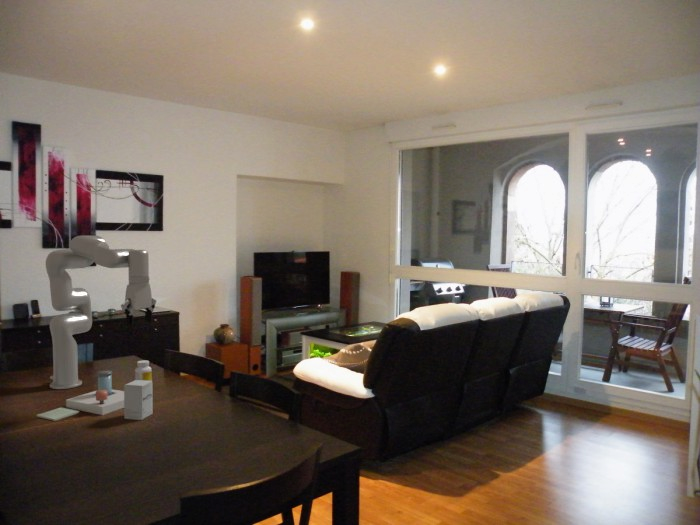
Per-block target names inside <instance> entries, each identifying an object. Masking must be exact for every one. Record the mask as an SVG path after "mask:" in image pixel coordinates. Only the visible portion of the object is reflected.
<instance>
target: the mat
mask: <svg viewBox="0 0 700 525" xmlns="http://www.w3.org/2000/svg"><path fill="white" fill-rule="evenodd" d="M77 414H80V410H76V409H72V408H67V407H63V406H61V407H58V408H55V409H52V410H48V411H45V412H42V413H38V414H36V417H37V418H41V419H45V420H50V421H52V422H54V421H58V420H61V419H64V418H67V417H70V416H74V415H77Z"/></svg>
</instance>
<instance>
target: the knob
mask: <svg viewBox="0 0 700 525" xmlns="http://www.w3.org/2000/svg"><path fill="white" fill-rule="evenodd" d="M97 390H98V389H97ZM97 390H95V391H96V400H97V401H100V404H104V400H106V399H107V390H98V391H97Z"/></svg>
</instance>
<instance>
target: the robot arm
mask: <svg viewBox="0 0 700 525" xmlns="http://www.w3.org/2000/svg"><path fill="white" fill-rule="evenodd" d="M69 247H70V248H68V249H66V248H65V249H56V250H52V251H51V252H49V253H48V255H47V256H46V259H45V269H46V270H45V271H46V273H47V276H48V279H49V288H50V290H49V291H50V299H51V300H50V301H51V306H52V309H54V310H55V311H58V312H63V311H65V312H66V311H67V312H68V311H72V310H73V311H74V312H68V313H67V312H66V313H60V314H59V315H55V316H53V318H51V320H50V321H49V331H50V334H51V340H52V341H51V342H52V359H53V360H52V361H53V363H52V364H53V365H52V366H53V368H52V369H53V372H52V375H50V377H49V380H52V382H50V384H49V388H50V389H53V390H66V389H72V388H77V387H80V386H81V385H82V384H83V380H81V379H79V366H78V365H79V364H78V362H79V360H78V357H79V356H78V344H77V343H78V342H77V341H76V339H75V338H74V337H73V335H77V334H82V333H86V332H88V331H90V330H91V328H92V325H93V313H92V304H91V303H92V302H91V296H90V294H89V292H88V291H87V290H86V289H85V288H83V287H73V283H72V282H73V281H72V277H71V276H70V274H69V273H68V271H67V270H69V269H70V270H73V269H85V268H87V267H88V268H89V266H91V265H92V264H94V263H95V265H98V266H101V267H104V268H108V269H117V268H118V269H120V268H121V269H122V268H123V269H124V268H128V284H127V285H126V289H125V298H124V299H125V300H124V302H123V303H122V304H120V308H121V310H122V312H123V313H124V315H125V316H126V318H125V319H126V322H125V324H126V326H134V324H135V323H134V312H135V311H136V310H144V309H145V311H144V312H145V313H144V317H145V320H144V321H145V322H148V323H151V322H153V312H154V309H155V307H156V304H157V300H156V299H154V298H153V297H152V289H151V284H150V279H151V278H150V272H149V270H150V269H149V263H150V262H149V251H147V250H145V249H133V248H115V249H113V248H110V246H109V244H108V243H107V242H106V240H105V238H104V237H101V236H100V235H76V236H75V237H73V238H72V239H71V240H70V242H69Z"/></svg>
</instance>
